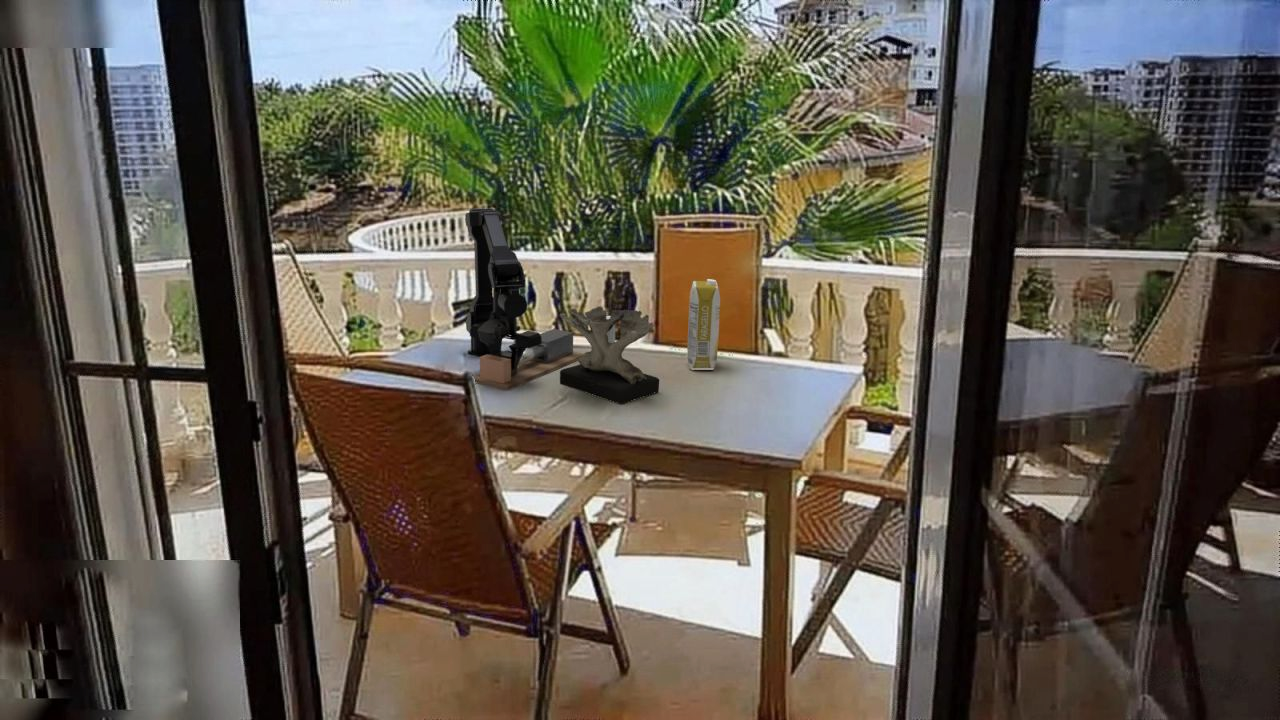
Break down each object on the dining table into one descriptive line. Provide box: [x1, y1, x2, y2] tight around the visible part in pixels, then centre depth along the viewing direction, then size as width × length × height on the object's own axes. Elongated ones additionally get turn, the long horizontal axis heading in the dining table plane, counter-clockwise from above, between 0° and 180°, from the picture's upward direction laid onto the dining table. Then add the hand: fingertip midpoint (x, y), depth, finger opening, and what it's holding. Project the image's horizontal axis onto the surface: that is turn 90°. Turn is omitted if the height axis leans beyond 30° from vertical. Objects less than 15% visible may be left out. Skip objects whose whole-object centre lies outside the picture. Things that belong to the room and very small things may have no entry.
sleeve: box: [531, 328, 574, 364], centre depth 275 cm, size 12×6×6 cm, turn 150°
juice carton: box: [686, 278, 721, 370], centre depth 271 cm, size 9×8×24 cm
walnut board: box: [473, 350, 585, 391], centre depth 268 cm, size 35×12×1 cm, turn 150°
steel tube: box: [494, 344, 544, 376], centre depth 264 cm, size 21×5×5 cm, turn 150°
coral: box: [559, 305, 660, 405], centre depth 249 cm, size 25×20×22 cm
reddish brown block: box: [479, 354, 511, 383], centre depth 255 cm, size 3×7×6 cm, turn 60°
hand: (505, 367), depth 259 cm, fingers closed on steel tube, 5 cm apart
